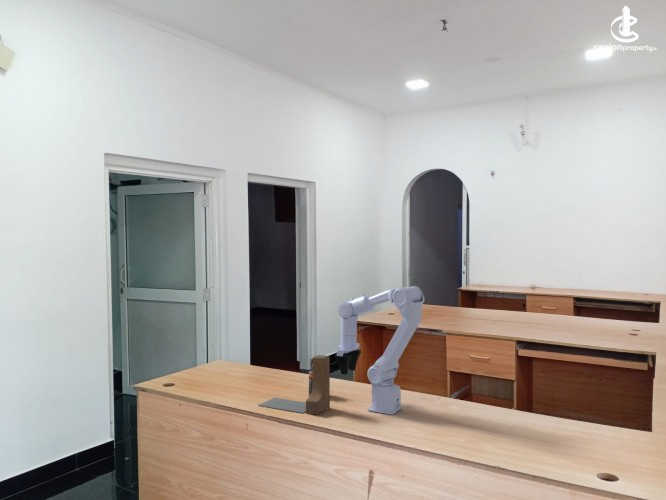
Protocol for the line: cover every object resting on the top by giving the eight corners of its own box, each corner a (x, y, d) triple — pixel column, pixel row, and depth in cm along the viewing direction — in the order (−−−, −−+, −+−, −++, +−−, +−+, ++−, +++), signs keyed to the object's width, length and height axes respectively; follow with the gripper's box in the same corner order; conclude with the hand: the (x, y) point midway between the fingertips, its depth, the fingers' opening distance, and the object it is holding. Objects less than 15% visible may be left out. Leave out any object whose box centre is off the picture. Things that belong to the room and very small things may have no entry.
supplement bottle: (317, 398, 188) (317, 368, 188) (305, 396, 192) (305, 365, 192) (327, 395, 193) (327, 364, 193) (315, 392, 197) (315, 362, 197)
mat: (317, 405, 181) (317, 404, 181) (302, 413, 172) (302, 412, 172) (274, 398, 189) (274, 397, 189) (258, 405, 180) (258, 405, 180)
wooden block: (317, 415, 170) (316, 361, 170) (305, 413, 172) (305, 359, 172) (330, 407, 178) (330, 355, 178) (318, 405, 180) (318, 354, 180)
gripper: (347, 330, 193) (347, 366, 194) (329, 336, 180) (328, 375, 181) (364, 332, 190) (364, 368, 190) (347, 338, 177) (346, 378, 178)
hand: (348, 372), depth 185 cm, fingers open, 6 cm apart
